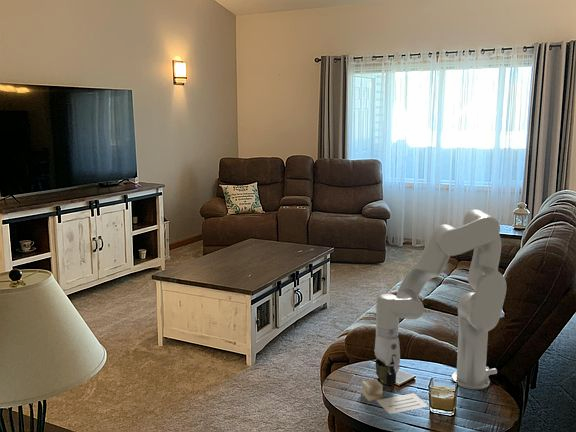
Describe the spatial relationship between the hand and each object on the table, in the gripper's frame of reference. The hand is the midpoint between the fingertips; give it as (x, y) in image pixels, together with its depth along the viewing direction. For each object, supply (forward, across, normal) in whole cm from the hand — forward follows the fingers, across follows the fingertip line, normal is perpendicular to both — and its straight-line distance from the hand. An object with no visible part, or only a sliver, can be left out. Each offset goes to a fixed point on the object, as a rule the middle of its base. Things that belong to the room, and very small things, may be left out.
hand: (385, 378), depth 199 cm
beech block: (+2, -7, +9) cm, 11 cm away
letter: (+2, -14, +2) cm, 15 cm away
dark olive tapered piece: (+2, 0, 0) cm, 2 cm away
